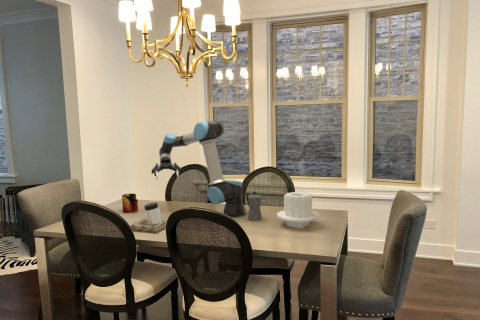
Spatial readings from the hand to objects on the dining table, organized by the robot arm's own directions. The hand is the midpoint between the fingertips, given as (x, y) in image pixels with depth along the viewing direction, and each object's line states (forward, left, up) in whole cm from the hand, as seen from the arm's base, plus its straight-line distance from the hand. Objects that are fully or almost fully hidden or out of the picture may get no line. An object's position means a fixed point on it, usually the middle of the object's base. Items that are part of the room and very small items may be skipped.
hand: (167, 177), depth 251 cm
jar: (-3, +22, -25) cm, 33 cm away
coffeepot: (-56, -11, -27) cm, 63 cm away
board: (0, +22, -27) cm, 35 cm away
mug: (+34, -7, -27) cm, 44 cm away
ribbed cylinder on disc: (-86, -4, -27) cm, 90 cm away
